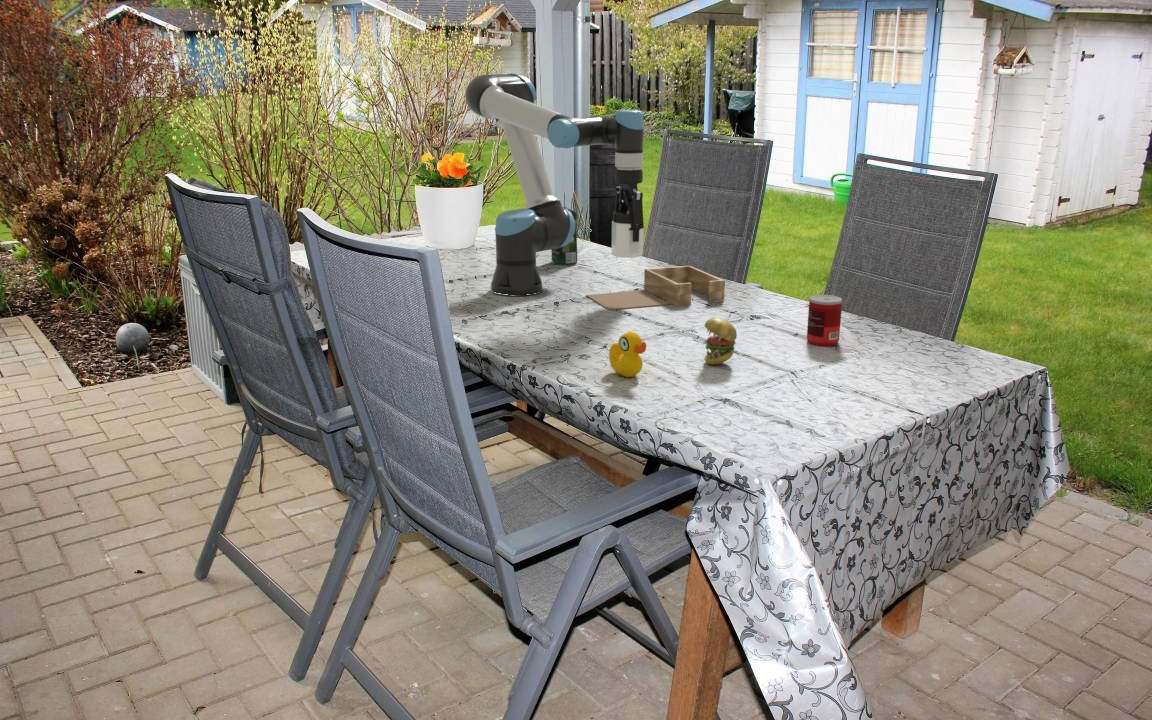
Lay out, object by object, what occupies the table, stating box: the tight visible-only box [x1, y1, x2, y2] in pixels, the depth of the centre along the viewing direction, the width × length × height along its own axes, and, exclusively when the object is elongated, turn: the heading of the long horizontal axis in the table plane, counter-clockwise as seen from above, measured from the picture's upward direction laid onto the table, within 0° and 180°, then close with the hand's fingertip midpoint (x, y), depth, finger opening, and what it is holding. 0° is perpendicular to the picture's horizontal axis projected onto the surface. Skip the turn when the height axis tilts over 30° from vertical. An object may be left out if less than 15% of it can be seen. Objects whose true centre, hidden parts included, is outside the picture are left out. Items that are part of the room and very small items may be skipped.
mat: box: [585, 289, 670, 311], centre depth 284 cm, size 18×18×1 cm
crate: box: [643, 265, 726, 307], centre depth 289 cm, size 15×22×6 cm
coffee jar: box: [551, 206, 578, 266], centre depth 332 cm, size 10×8×19 cm
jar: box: [611, 211, 644, 259], centre depth 279 cm, size 9×8×12 cm
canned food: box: [806, 294, 843, 347], centre depth 241 cm, size 8×8×11 cm
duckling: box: [608, 331, 647, 378], centre depth 216 cm, size 11×5×10 cm, turn 35°
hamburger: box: [703, 312, 738, 366], centre depth 224 cm, size 8×7×12 cm
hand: (627, 250), depth 280 cm, fingers closed on jar, 8 cm apart
